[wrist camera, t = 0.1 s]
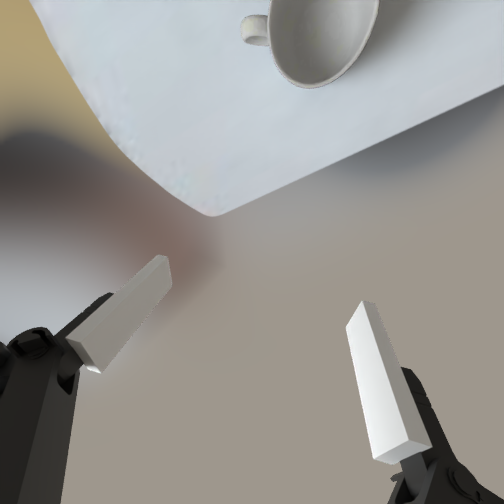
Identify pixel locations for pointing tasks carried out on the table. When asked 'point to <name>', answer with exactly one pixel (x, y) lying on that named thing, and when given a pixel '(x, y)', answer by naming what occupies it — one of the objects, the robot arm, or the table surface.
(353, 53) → the teacup
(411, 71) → the table surface
